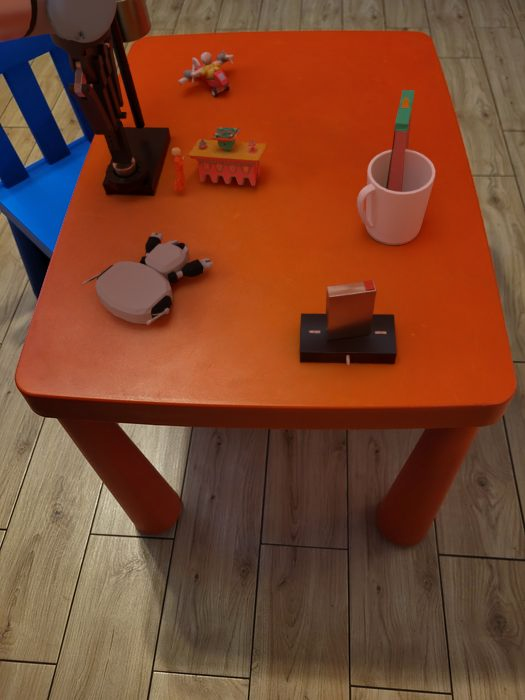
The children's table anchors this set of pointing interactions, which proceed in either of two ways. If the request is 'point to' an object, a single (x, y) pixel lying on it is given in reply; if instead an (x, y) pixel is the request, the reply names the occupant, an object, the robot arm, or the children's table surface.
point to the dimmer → (348, 342)
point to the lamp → (127, 28)
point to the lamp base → (141, 162)
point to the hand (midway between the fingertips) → (123, 159)
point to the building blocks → (244, 157)
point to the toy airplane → (209, 71)
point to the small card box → (349, 309)
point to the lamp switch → (125, 169)
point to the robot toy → (146, 280)
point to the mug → (396, 198)
